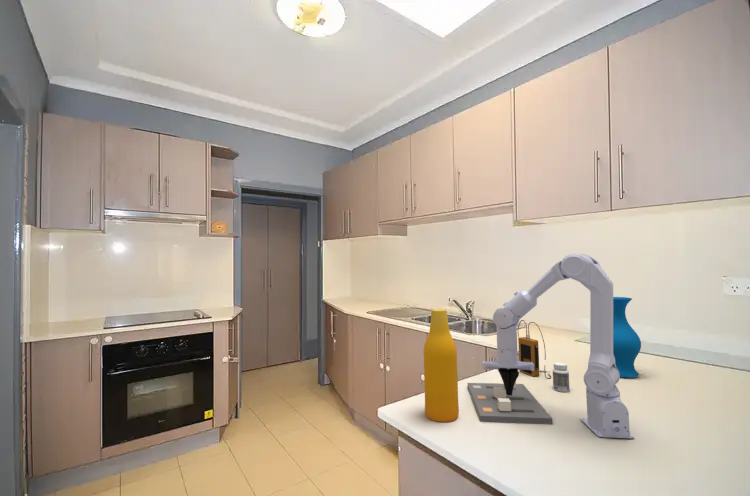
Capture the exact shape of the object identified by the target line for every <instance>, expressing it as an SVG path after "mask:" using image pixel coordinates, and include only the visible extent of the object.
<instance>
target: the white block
mask: <svg viewBox="0 0 750 496" xmlns="http://www.w3.org/2000/svg"><path fill="white" fill-rule="evenodd" d="M497 399H498V409H499V410H500V411H511V401H510V400H509V398H497Z"/></svg>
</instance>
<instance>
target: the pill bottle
mask: <svg viewBox="0 0 750 496" xmlns="http://www.w3.org/2000/svg"><path fill="white" fill-rule="evenodd" d="M552 388H553V390H555V391H556V392H560V393H567V392H569V391H570V372H569V370H568V364H567V363H565V362H557V361H556V362H553V369H552Z"/></svg>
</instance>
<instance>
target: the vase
mask: <svg viewBox="0 0 750 496" xmlns="http://www.w3.org/2000/svg"><path fill="white" fill-rule="evenodd" d="M632 300H633V298H631V297H627V296H624V297H623V296H613V355H614V357H615V365H616V367H617V369H618V371H619V374H620V378H626V379H627V378H629V379H632V378H633V379H634V378H637V377H639V376H640V374H639V372H638V371H637V370H636V369H635V360H636V358H637V357H638V355H639V353H640V351H641V349H642V341H641V338H640V336H639V335H638V333H637V332H636V331H635V330H634V328H633V327H632V326H631V325H630V322H629V321H628V319H627V316H626V309H627V306H628V304H629V303H630V302H631V301H632Z"/></svg>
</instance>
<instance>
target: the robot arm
mask: <svg viewBox="0 0 750 496" xmlns="http://www.w3.org/2000/svg"><path fill="white" fill-rule="evenodd" d="M570 279H572V280H574V281H576V282H579V283H580V285H583V286H584V287H585V288H586V289H587V290H589V291H590V303H589V305H590V309H589V310H590V316H589V318H590V324H589V325H590V326H589V327H590V329H589V330H590V331H589V332H590V335H589V336H590V342H589V343H590V345H589V346H590V349H589V350H590V353H589V357H588V362H587V370H586V371H585V372H584V375H583V382H584V386H585V391H586V392H585V393H586V395H585V396H586V397H585V398H586V417H587V418H586V417H581V418H580V420H581V422H582V423H584V424H585V425H586V427H588V429H589V430H591V431H592V433H594V434H595V435H596V436H597V437H598V438H611V439H613V438H615V439H634V438H635V435H633V434H632V433H631V431H630V430H631V429H630V417H629V415H630V414H629V410H628V408H627V406H626V405H625V404H624V403H623V402H622V399H621V391H620V390H619V388H618V386H617V385H616V384H618V383H619V381H620V378H621V377H620V374H619V371H618V369H617V367H616V365H615V357H614V355H613V297H614V283H613V281H612V280H611V278H610V277H609V276H608V274H607V273H606V272H605V270H604V269H603V268H602V266H601V264H600V262H599V261H598V260H596V259H594V258H593V257H592V256H591V255H588V254H584V253H580V254H579V253H572V254H571V253H570V254H568V255H565V256H564V257H563V258H562V260H560V261H558V262H556V263H555V264H554V265H552V266H551V268H549V270H547V272H545V273H544V275H542V276H541V277H540V278H539V279H538V280H537V281H536V282H534V284H533V285H532V286H531V287H530V288H529V289H528V290H525V289H522V290H520V291H518V290H517V291H515V292H514V293H513V295H514V296H513V297H512V298H511V299H509V301H508V302H504V303H503V304H502V305H503V307H499V308H497V309H496V310H495V311H494V312H493V315H492V320H493V322H494V324H495V326H496V348H497V349H496V350H497V351H496V353H497V360H489V361H482V363H481V364H482V365H481V366H482V369H483V370H485V371H487V370H497V371H498V373H499V375H500V377H501V379H502V382H503V383H502V384H504V386H505V390H506V394H507V395H512V391H513V387H514V384H515V382H516V383H517V380H518V377H520V375H519V374H520V370H531V371H534V364H533V363H532V362H520V361H519V353H518V351H519V349H518V327H517V325H519V323H520V321H521V320H522V318H523V317H525V316H526V315H527V314H528V313H530V312H531V310H533V309H534V308H535V307H536V306H537V304H538V298H539V297H541V296H543V294H545V293H546V292H547V291H549V289H551V288H552V287H553V286H555V285H556V284H557V283H558V282H560V281H564V280H570Z"/></svg>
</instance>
